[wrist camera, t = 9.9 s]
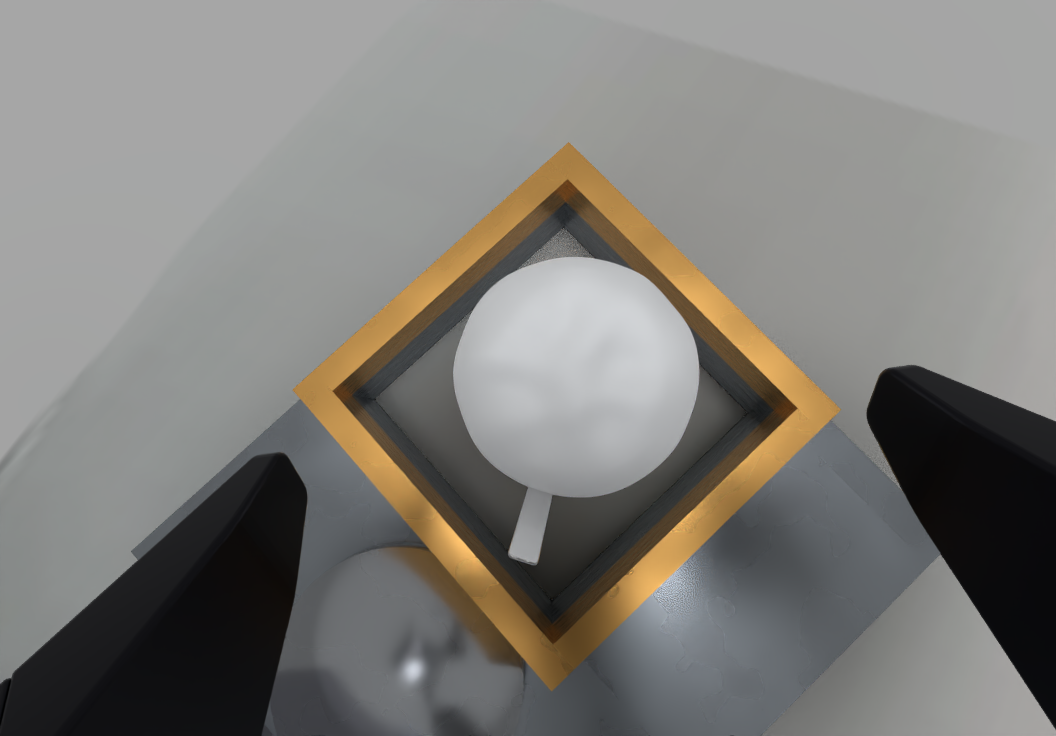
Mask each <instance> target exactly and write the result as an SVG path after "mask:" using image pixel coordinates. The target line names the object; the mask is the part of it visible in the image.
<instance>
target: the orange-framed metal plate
mask: <svg viewBox="0 0 1056 736" xmlns="http://www.w3.org/2000/svg"><path fill="white" fill-rule="evenodd" d="M563 227H565V228H566V229H567V230H568V231H569V232H570V233H571V234H572V235H573V236H574V237H575V238H576V239H577V240H578V241H579V242H580V243H581V244H582V245H583V246H584V247H585V248H586V249H587V250H588V251H589V252H590V253H591V254H592V255H593V256H594V257H595V258H596V259H599V260H604V261H608V262H612V263H615V264H618V265H621V266H623V267H626V268H629V269H631V270H633V271H635V272H637V273H639V274H641V275H643V276H644V277H646V278H647V279H648V280H650V281H651V282H652V283H653V284H654V285H655V286H656V287H657V288H658V289H659V290H660V291H661V292H662V293H663V294H664V296H665V297H666V298H667V299H668V300H669V301H670V303H671V304H672V305H673V306H674V307H675V309H676V310H677V311H678V312H679V313H680V315H681V316H682V317H683V319H684V320H685V322H686V323H687V325H688V327H689V328H690V330H691V333H692V335H693V337H694V340H695V344H696V348H697V353H698V360H699V364H700V365H701V366H702V367H703V368H704V369H705V370H706V371H707V372H708V373H709V374H710V375H711V376H712V377H713V378H714V379H715V380H716V381H717V382H718V383H719V384H720V385H721V386H722V387H723V388H724V389H725V390H726V391H727V392H728V393H729V394H730V395H731V396H732V397H733V398H734V399H735V400H736V401H737V402H738V403H739V404H740V405H741V406H742V407H743V408H744V409H745V410H746V411H747V412H748V414H747V415H746V416H744V417H743V418H742V419H741V420H740V421H739V422H738V423H737V424H736V425H735V426H734V427H733V428H732V429H731V430H730V431H729V432H728V433H727V434H726V435H725V436H724V437H723V438H722V439H721V440H720V441H718V442H717V443H716V444H715V445H714V446H713V447H712V448H711V449H710V450H709V451H708V452H707V453H706V454H705V455H704V456H703V457H702V458H701V459H700V460H699V461H698V462H697V463H696V464H695V465H693V466H692V467H691V468H690V469H689V470H688V471H687V472H686V473H685V474H684V475H683V476H682V477H681V478H680V479H679V480H678V481H677V482H676V483H675V484H674V485H673V486H672V487H671V488H670V489H668V490H667V491H666V492H665V493H664V494H663V495H662V496H661V497H660V498H659V499H658V500H657V501H656V502H655V503H654V504H653V505H652V506H651V507H650V508H649V509H648V510H647V511H646V512H645V513H643V514H642V515H641V516H640V517H639V518H638V519H637V520H636V521H635V522H634V523H633V524H632V525H631V526H630V527H629V528H628V529H627V530H626V531H625V532H624V533H623V534H622V535H621V536H620V537H618V538H617V539H616V540H615V541H614V542H613V543H612V544H611V545H610V546H609V547H608V548H607V549H606V550H605V551H604V552H603V553H602V554H601V555H600V556H599V557H598V558H597V559H596V560H595V561H594V562H592V563H591V564H590V565H589V566H588V567H587V568H586V569H585V570H584V571H583V572H582V573H581V574H580V575H579V576H578V577H577V578H576V579H575V580H574V581H573V582H572V583H571V584H570V585H569V586H567V587H566V588H565V589H564V590H563V591H562V592H561V593H560V594H559V595H558V596H557V597H556V598H555V599H554V600H553V601H551V600H550V599H549V598H548V596H547V595H546V594H545V593H544V592H543V591H542V590H541V588H540V587H539V586H538V585H537V584H536V583H535V582H534V581H533V579H532V578H531V577H530V576H529V575H528V574H527V573H526V571H525V570H524V569H523V568H522V567H521V566H520V565H519V563H518V562H517V561H516V560H515V559H512V558H510V557H509V556H508V551H507V550H506V549H505V548H504V546H503V545H502V544H501V543H500V542H499V541H498V540H497V538H496V537H495V536H494V535H493V534H492V533H491V532H490V531H489V529H488V528H487V527H486V526H485V525H484V524H483V523H482V521H481V520H480V519H479V518H478V517H477V516H476V515H475V513H474V512H473V511H472V510H471V509H470V508H469V507H468V506H467V504H466V503H465V502H464V501H463V500H462V499H461V498H460V496H459V495H458V494H457V493H456V492H455V491H454V490H453V488H452V487H451V486H450V485H449V484H448V483H447V482H446V481H445V479H444V478H443V477H442V476H441V475H440V474H439V473H438V471H437V470H436V469H435V468H434V467H433V466H432V465H431V464H430V462H429V461H428V460H427V459H426V458H425V457H424V456H423V454H422V453H421V452H420V451H419V450H418V449H417V448H416V446H415V445H414V444H413V443H412V442H411V441H410V440H409V439H408V437H407V436H406V435H405V434H404V433H403V432H402V431H401V429H400V428H399V427H398V426H397V425H396V424H395V423H394V421H393V420H392V419H391V418H390V417H389V416H388V415H387V414H386V412H385V411H384V410H383V409H382V408H381V407H380V406H379V404H378V403H377V402H376V401H375V400H374V398H375V397H377V396H378V395H379V394H380V393H381V392H382V391H383V390H384V389H385V388H386V387H388V386H389V385H390V384H391V383H392V382H393V381H394V380H395V379H396V378H397V377H399V376H400V375H401V374H402V373H403V372H404V371H405V370H406V369H407V368H408V367H410V366H411V365H412V364H413V363H414V362H415V361H416V360H417V359H418V358H419V357H421V356H422V355H423V354H424V353H425V352H426V351H427V350H428V349H429V348H431V347H432V346H433V345H434V344H435V343H436V342H437V341H438V340H439V339H440V338H442V337H443V336H444V335H445V334H446V333H447V332H448V331H449V330H450V329H451V328H453V327H454V326H455V325H456V324H457V323H458V322H459V321H460V320H461V319H462V318H464V317H465V316H466V315H467V314H468V313H469V312H470V311H471V310H472V309H473V308H475V306H476V305H477V303H478V302H479V301H480V299H481V298H482V297H483V296H484V294H485V293H486V292H487V291H488V290H489V289H490V288H491V287H492V286H493V285H495V284H496V283H497V282H498V281H500V280H501V279H502V278H504V277H506V276H507V275H509V274H511V273H513V272H514V271H515V270H516V269H518V268H519V267H520V266H521V265H522V264H523V263H524V262H525V261H526V260H527V259H529V258H530V257H531V256H532V255H533V254H534V253H535V252H536V251H537V250H539V249H540V248H541V247H542V246H543V245H544V244H545V243H546V242H547V241H548V240H550V239H551V238H552V237H553V236H554V235H555V234H556V233H557V232H558V231H559V230H561V229H562V228H563ZM293 391H294V392H295V393H296V394H297V396H298V397H299V398H300V400H299V401H298V402H297V403H296V404H295V405H293V406H292V407H291V408H290V409H289V410H288V411H287V412H286V413H285V414H283V415H282V416H281V417H280V418H279V419H278V420H277V421H276V422H275V423H273V424H272V425H271V426H270V427H269V428H268V429H267V430H266V431H265V432H263V433H262V434H261V435H260V436H259V437H258V438H257V439H256V440H255V441H253V442H252V443H251V444H250V445H249V446H248V447H247V448H246V449H244V450H243V451H242V452H241V453H240V454H239V455H238V456H237V457H236V458H234V459H233V460H232V461H231V462H230V463H229V464H228V465H227V466H226V467H224V468H223V469H222V470H221V471H220V472H219V473H218V474H217V475H216V476H214V477H213V478H212V479H211V480H210V481H209V482H208V483H207V484H206V485H204V486H203V487H202V488H201V489H200V490H199V491H198V492H197V493H196V494H194V495H193V496H192V497H191V498H190V499H189V500H188V501H187V502H185V503H184V504H183V505H182V506H181V507H180V508H179V509H178V510H177V511H175V512H174V513H173V514H172V515H171V516H170V517H169V518H168V519H167V520H165V521H164V522H163V523H162V524H161V525H160V526H159V527H158V528H157V529H155V530H154V531H153V532H152V533H151V534H150V535H149V536H148V537H147V538H145V539H144V540H143V541H142V542H141V543H140V544H139V545H138V546H136V547H135V548H134V549H133V550H132V551H131V552H132V553H133V555H134V556H135V557H136V558H137V560H139V559H140V558H141V557H142V556H143V555H144V554H146V553H147V552H148V551H149V550H150V549H151V548H152V547H153V546H154V545H156V544H157V543H158V542H159V541H160V540H161V539H162V538H163V537H164V536H166V535H167V534H168V533H169V532H170V531H171V530H172V529H173V528H174V527H176V526H177V525H178V524H179V523H180V522H181V521H182V520H183V519H184V518H186V517H187V516H188V515H189V514H190V513H191V512H192V511H193V510H194V509H196V508H197V507H198V506H199V505H200V504H201V503H202V502H203V501H204V500H206V499H207V498H208V497H209V496H210V495H211V494H212V493H213V492H214V491H216V490H217V489H218V488H219V487H220V486H221V485H222V484H223V483H224V482H226V481H227V480H228V479H229V478H230V477H231V476H232V475H233V474H234V473H236V472H237V471H238V470H239V469H240V468H241V467H242V466H243V465H244V464H246V463H247V462H248V461H249V460H250V459H251V458H253V457H254V456H256V455H259V454H266V453H273V452H283V453H285V454H286V455H287V456H288V457H289V459H290V460H291V462H292V464H293V466H294V467H295V469H296V471H297V472H298V474H299V476H300V477H301V479H302V481H303V483H304V484H305V487H306V490H307V495H308V501H307V510H306V518H305V525H304V533H303V541H302V549H301V557H300V565H299V573H298V580H297V587H296V593H295V598H294V603H293V607H292V612H291V616H290V620H289V624H288V628H287V633H286V637H285V641H284V645H283V649H282V653H281V657H280V662H279V666H278V670H277V674H276V678H275V682H274V686H273V691H272V695H271V699H270V703H269V707H268V711H267V716H266V720H265V726H266V727H267V728H268V729H269V731H270V732H271V733H272V735H273V736H761V735H762V734H763V733H764V732H765V731H766V730H767V729H768V728H769V727H770V726H771V725H772V724H773V723H774V722H775V721H776V720H777V719H778V718H779V717H780V716H781V715H782V713H783V712H784V711H785V710H786V709H787V708H788V707H789V706H790V705H791V704H792V703H793V702H794V701H795V700H796V699H797V698H798V697H799V696H800V695H801V694H802V693H803V692H804V691H805V690H806V689H807V688H808V687H809V686H810V685H811V684H812V683H813V682H814V681H815V680H816V679H817V678H818V677H819V676H820V675H821V674H822V673H823V672H824V671H825V670H826V669H827V668H828V667H829V666H830V665H831V664H832V663H833V662H834V661H835V660H836V659H837V658H838V657H839V656H840V655H841V654H842V653H843V652H844V651H845V650H846V649H847V648H848V647H849V646H850V645H851V644H852V643H853V642H854V641H855V640H856V639H857V638H858V637H859V636H860V635H861V634H862V633H863V632H864V631H865V630H866V629H867V628H868V627H869V626H870V625H871V624H872V623H873V622H874V621H875V620H876V619H877V617H878V616H879V615H880V614H881V613H882V612H883V611H884V610H885V609H886V608H887V607H888V606H889V605H890V604H891V603H892V602H893V601H894V600H895V599H896V598H897V597H898V596H899V595H900V594H901V593H902V592H903V591H904V590H905V589H906V588H907V587H908V586H909V585H910V584H911V583H912V582H913V581H914V580H915V579H916V578H917V577H918V576H919V575H920V574H921V573H922V572H923V571H924V570H925V569H926V568H927V567H928V566H929V565H930V564H931V563H932V562H933V561H934V560H935V559H936V558H937V557H938V556H939V555H940V552H939V551H938V549H937V548H936V546H935V545H934V543H933V541H932V540H931V538H930V537H929V535H928V534H927V532H926V531H925V529H924V528H923V526H922V524H921V523H920V521H919V520H918V518H917V516H916V515H915V513H914V511H913V509H912V508H911V506H910V504H909V502H908V500H907V499H906V497H905V495H904V493H903V491H902V490H901V489H900V488H899V487H898V486H897V485H896V484H895V483H894V482H893V481H892V480H891V479H889V478H888V477H887V476H886V475H885V474H884V473H883V472H882V471H881V470H880V469H879V468H878V467H877V466H876V465H875V464H874V463H873V462H872V461H871V460H870V459H869V458H868V457H867V456H866V455H865V454H864V453H863V452H862V451H861V450H860V449H859V448H858V447H857V446H856V445H855V444H854V443H853V442H852V441H851V440H850V439H849V438H848V437H847V436H846V435H845V434H844V433H843V432H842V431H841V430H840V429H839V428H838V427H837V426H836V425H835V424H834V423H833V422H832V421H831V419H832V418H833V417H834V416H835V415H836V414H837V413H838V412H839V411H840V410H841V409H840V408H839V407H838V406H837V405H836V404H835V403H834V402H833V401H832V400H831V399H830V398H829V397H828V396H827V395H825V394H824V393H823V392H822V391H821V390H820V389H819V388H818V387H817V386H816V385H815V384H814V383H813V382H812V381H811V380H810V379H809V378H808V377H807V376H806V375H805V374H804V373H803V372H802V371H801V370H800V369H799V368H798V367H797V366H796V365H795V364H794V363H793V362H792V361H791V360H790V359H789V358H788V357H787V356H786V355H785V354H784V353H783V352H782V351H781V350H780V349H779V348H778V347H777V346H776V345H775V344H774V343H773V342H772V341H771V340H770V339H769V338H768V337H766V336H765V335H764V334H763V333H762V332H761V331H760V330H759V329H758V328H757V327H756V326H755V325H754V324H753V323H752V322H751V321H750V320H749V319H748V318H747V317H746V316H745V315H744V314H743V313H742V312H741V311H740V310H739V309H738V308H737V307H736V306H735V305H734V304H733V303H732V302H731V301H730V300H729V299H728V298H727V297H726V296H725V295H724V294H723V293H722V292H721V291H720V290H719V289H718V288H717V287H716V286H715V285H714V284H713V283H712V282H711V281H710V280H709V279H707V278H706V277H705V276H704V275H703V274H702V273H701V272H700V271H699V270H698V269H697V268H696V267H695V266H694V265H693V264H692V263H691V262H690V261H689V260H688V259H687V258H686V257H685V256H684V255H683V254H682V253H681V252H680V251H679V250H678V249H677V248H676V247H675V246H674V245H673V244H672V243H671V242H670V241H669V240H668V239H667V238H666V237H665V236H664V235H663V234H662V233H661V232H660V231H659V230H658V229H657V228H656V227H655V226H654V225H653V224H652V223H651V222H650V221H648V220H647V219H646V218H645V217H644V216H643V215H642V214H641V213H640V212H639V211H638V210H637V209H636V208H635V207H634V206H633V205H632V204H631V203H630V202H629V201H628V200H627V199H626V198H625V197H624V196H623V195H622V194H621V193H620V192H619V191H618V190H617V189H616V188H615V187H614V186H613V185H612V184H611V183H610V182H609V181H608V180H607V179H606V178H605V177H604V176H603V175H602V174H601V173H600V172H599V171H598V170H597V169H596V168H595V167H594V166H593V165H592V164H591V163H589V162H588V161H587V160H586V159H585V158H584V157H583V156H582V155H581V154H580V153H579V152H578V151H577V150H576V149H575V148H574V147H573V146H572V145H571V144H570V143H569V142H568V143H567V144H566V145H565V146H564V147H563V148H562V149H561V150H559V151H558V152H557V153H556V154H555V155H554V156H553V157H552V158H551V159H549V160H548V161H547V162H546V163H545V164H544V165H543V166H542V167H540V168H539V169H538V170H537V171H536V172H535V173H534V174H533V175H532V176H530V177H529V178H528V179H527V180H526V181H525V182H524V183H523V184H522V185H520V186H519V187H518V188H517V189H516V190H515V191H514V192H513V193H511V194H510V195H509V196H508V197H507V198H506V199H505V200H504V201H503V202H501V203H500V204H499V205H498V206H497V207H496V208H495V209H494V210H492V211H491V212H490V213H489V214H488V215H487V216H486V217H485V218H484V219H482V220H481V221H480V222H479V223H478V224H477V225H476V226H475V227H474V228H472V229H471V230H470V231H469V232H468V233H467V234H466V235H465V236H463V237H462V238H461V239H460V240H459V241H458V242H457V243H456V244H455V245H453V246H452V247H451V248H450V249H449V250H448V251H447V252H446V253H444V254H443V255H442V256H441V257H440V258H439V259H438V260H437V261H436V262H434V263H433V264H432V265H431V266H430V267H429V268H428V269H427V270H426V271H424V272H423V273H422V274H421V275H420V276H419V277H418V278H417V279H415V280H414V281H413V282H412V283H411V284H410V285H409V286H408V287H407V288H405V289H404V290H403V291H402V292H401V293H400V294H399V295H398V296H396V297H395V298H394V299H393V300H392V301H391V302H390V303H389V304H388V305H386V306H385V307H384V308H383V309H382V310H381V311H380V312H379V313H378V314H376V315H375V316H374V317H373V318H372V319H371V320H370V321H369V322H367V323H366V324H365V325H364V326H363V327H362V328H361V329H360V330H359V331H357V332H356V333H355V334H354V335H353V336H352V337H351V338H350V339H348V340H347V341H346V342H345V343H344V344H343V345H342V346H341V347H340V348H338V349H337V350H336V351H335V352H334V353H333V354H332V355H331V356H330V357H328V358H327V359H326V360H325V361H324V362H323V363H322V364H321V365H319V366H318V367H317V368H316V369H315V370H314V371H313V372H312V373H311V374H309V375H308V376H307V377H306V378H305V379H304V380H303V381H302V382H300V383H299V384H298V385H297V386H296V387H295V388H294V389H293Z"/></svg>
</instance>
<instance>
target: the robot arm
mask: <svg viewBox="0 0 1056 736" xmlns="http://www.w3.org/2000/svg"><path fill="white" fill-rule="evenodd" d="M867 421H868V424H869V426H870V428H871V430H872V432H873V434H874V436H875V438H876V440H877V442H878V444H879V446H880V448H881V450H882V452H883V454H884V456H885V458H886V460H887V462H888V464H889V466H890V467H891V469H892V471H893V473H894V475H895V477H896V479H897V481H898V483H899V485H900V487H901V489H902V491H903V493H904V495H905V497H906V499H907V500H908V502H909V504H910V506H911V508H912V509H913V511H914V513H915V515H916V516H917V518H918V520H919V521H920V523H921V524H922V526H923V528H924V529H925V531H926V532H927V534H928V535H929V537H930V538H931V540H932V541H933V543H934V545H935V546H936V548H937V549H938V551H939V552H940V554H941V555H942V557H943V558H944V560H945V561H946V563H947V564H948V566H949V567H950V569H951V571H952V572H953V574H954V575H955V577H956V578H957V580H958V581H959V583H960V584H961V586H962V587H963V589H964V590H965V592H966V593H967V595H968V596H969V598H970V600H971V601H972V603H973V604H974V606H975V607H976V609H977V610H978V612H979V613H980V615H981V616H982V618H983V619H984V621H985V622H986V624H987V625H988V627H989V629H990V630H991V632H992V633H993V635H994V636H995V638H996V639H997V641H998V642H999V644H1000V645H1001V647H1002V648H1003V650H1004V651H1005V653H1006V655H1007V656H1008V658H1009V659H1010V661H1011V662H1012V664H1013V665H1014V667H1015V668H1016V670H1017V671H1018V673H1019V674H1020V676H1021V677H1022V679H1023V680H1024V682H1025V684H1026V685H1027V687H1028V688H1029V690H1030V691H1031V693H1032V694H1033V696H1034V697H1035V699H1036V700H1037V702H1038V703H1039V705H1040V706H1041V708H1042V710H1043V711H1044V713H1045V714H1046V716H1047V717H1048V719H1049V720H1050V722H1051V723H1052V725H1053V726H1054V728H1055V729H1056V421H1053V420H1051V419H1048V418H1046V417H1044V416H1041V415H1039V414H1036V413H1034V412H1031V411H1029V410H1026V409H1024V408H1021V407H1019V406H1016V405H1014V404H1011V403H1009V402H1006V401H1004V400H1001V399H999V398H997V397H994V396H992V395H989V394H987V393H984V392H982V391H979V390H977V389H974V388H972V387H969V386H967V385H964V384H962V383H959V382H957V381H954V380H952V379H950V378H947V377H945V376H942V375H940V374H937V373H935V372H932V371H930V370H927V369H925V368H922V367H920V366H916V365H906V366H899V367H892V368H887V369H885V370H884V371H882V372H881V373H880V375H879V377H878V380H877V383H876V385H875V388H874V391H873V393H872V396H871V399H870V402H869V404H868V407H867ZM307 501H308V495H307V490H306V487H305V484H304V483H303V481H302V479H301V477H300V476H299V474H298V472H297V471H296V469H295V467H294V466H293V464H292V462H291V460H290V459H289V457H288V456H287V455H286V454H285V453H283V452H273V453H266V454H259V455H256V456H254V457H253V458H251V459H250V460H249V461H248V462H247V463H246V464H244V465H243V466H242V467H241V468H240V469H239V470H238V471H237V472H236V473H234V474H233V475H232V476H231V477H230V478H229V479H228V480H227V481H226V482H224V483H223V484H222V485H221V486H220V487H219V488H218V489H217V490H216V491H214V492H213V493H212V494H211V495H210V496H209V497H208V498H207V499H206V500H204V501H203V502H202V503H201V504H200V505H199V506H198V507H197V508H196V509H194V510H193V511H192V512H191V513H190V514H189V515H188V516H187V517H186V518H184V519H183V520H182V521H181V522H180V523H179V524H178V525H177V526H176V527H174V528H173V529H172V530H171V531H170V532H169V533H168V534H167V535H166V536H164V537H163V538H162V539H161V540H160V541H159V542H158V543H157V544H156V545H154V546H153V547H152V548H151V549H150V550H149V551H148V552H147V553H146V554H144V555H143V556H142V557H141V558H140V559H139V560H138V561H137V562H136V563H134V564H133V565H132V566H131V567H130V568H129V569H128V570H127V571H126V572H124V573H123V574H122V575H121V576H120V577H119V578H118V579H117V580H116V581H114V582H113V583H112V584H111V585H110V586H109V587H108V588H107V589H106V590H104V591H103V592H102V593H101V594H100V595H99V596H98V597H97V598H96V599H94V600H93V601H92V602H91V603H90V604H89V605H88V606H87V607H86V608H84V609H83V610H82V611H81V612H80V613H79V614H78V615H77V616H75V617H74V618H73V619H72V620H71V621H70V622H69V623H68V624H67V625H65V626H64V627H63V628H62V629H61V630H60V631H59V632H58V633H57V634H55V635H54V636H53V637H52V638H51V639H50V640H49V641H48V642H47V643H45V644H44V645H43V646H42V647H41V648H40V649H39V650H38V651H37V652H35V653H34V654H33V655H32V656H31V657H30V658H29V659H28V660H27V661H25V662H24V663H23V664H22V665H21V666H20V667H19V668H18V669H17V670H15V672H14V673H13V675H12V678H8V679H6V680H4V681H3V682H2V683H1V684H0V736H262V732H263V728H264V724H265V720H266V716H267V711H268V707H269V703H270V699H271V695H272V691H273V686H274V682H275V678H276V674H277V670H278V666H279V662H280V657H281V653H282V649H283V645H284V641H285V637H286V633H287V628H288V624H289V620H290V616H291V612H292V607H293V603H294V598H295V593H296V587H297V580H298V573H299V565H300V557H301V549H302V541H303V533H304V525H305V518H306V510H307Z"/></svg>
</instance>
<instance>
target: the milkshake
mask: <svg viewBox="0 0 1056 736" xmlns="http://www.w3.org/2000/svg"><path fill="white" fill-rule="evenodd" d="M453 381H454V389H455V394H456V398H457V402H458V405H459V408H460V411H461V414H462V417H463V420H464V423H465V425H466V428H467V430H468V432H469V434H470V436H471V438H472V440H473V442H474V444H475V445H476V447H477V448H478V449H479V451H480V452H481V453H482V455H483V456H484V457H485V458H486V459H487V460H488V461H489V462H490V463H491V464H492V465H493V466H494V467H496V468H497V469H498V470H499V471H501V472H502V473H504V474H505V475H507V476H508V477H510V478H512V479H513V480H515V481H517V482H519V483H521V484H523V485H525V486H527V487H528V488H527V492H526V495H525V498H524V501H523V505H522V508H521V511H520V514H519V518H518V521H517V524H516V527H515V530H514V534H513V537H512V540H511V543H510V547H509V551H508V556H509V557H510V558H512V559H515V560H518V561H521V562H524V563H527V564H530V565H537V564H538V561H539V557H540V553H541V548H542V544H543V539H544V534H545V529H546V525H547V520H548V515H549V511H550V506H551V501H552V497H553V495H557V496H564V497H595V496H602V495H606V494H610V493H613V492H616V491H619V490H621V489H623V488H626V487H628V486H630V485H632V484H634V483H635V482H637V481H639V480H640V479H642V478H644V477H645V476H647V475H648V474H649V473H651V472H652V471H653V470H654V469H656V468H657V467H658V466H659V465H660V464H661V463H662V462H663V461H664V460H665V459H666V458H667V457H668V456H669V455H670V454H671V453H672V451H673V450H674V449H675V447H676V446H677V445H678V443H679V441H680V440H681V438H682V436H683V434H684V432H685V429H686V427H687V425H688V422H689V420H690V417H691V414H692V411H693V408H694V405H695V401H696V397H697V392H698V385H699V360H698V353H697V348H696V344H695V340H694V337H693V335H692V333H691V330H690V328H689V327H688V325H687V323H686V322H685V320H684V319H683V317H682V316H681V315H680V313H679V312H678V311H677V310H676V309H675V307H674V306H673V305H672V304H671V303H670V301H669V300H668V299H667V298H666V297H665V296H664V294H663V293H662V292H661V291H660V290H659V289H658V288H657V287H656V286H655V285H654V284H653V283H652V282H651V281H650V280H648V279H647V278H646V277H644V276H643V275H641V274H639V273H637V272H635V271H633V270H631V269H629V268H626V267H623V266H621V265H618V264H615V263H612V262H608V261H604V260H599V259H594V258H586V257H563V258H556V259H550V260H546V261H542V262H539V263H535V264H532V265H529V266H527V267H524V268H521V269H519V270H517V271H515V272H513V273H511V274H509V275H507V276H506V277H504V278H502V279H501V280H500V281H498V282H497V283H496V284H495V285H493V286H492V287H491V288H490V289H489V290H488V291H487V292H486V293H485V294H484V296H483V297H482V298H481V299H480V301H479V302H478V303H477V305H476V306H475V308H474V310H473V311H472V313H471V315H470V317H469V319H468V322H467V324H466V326H465V329H464V331H463V334H462V337H461V339H460V342H459V345H458V348H457V352H456V356H455V360H454V368H453Z"/></svg>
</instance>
